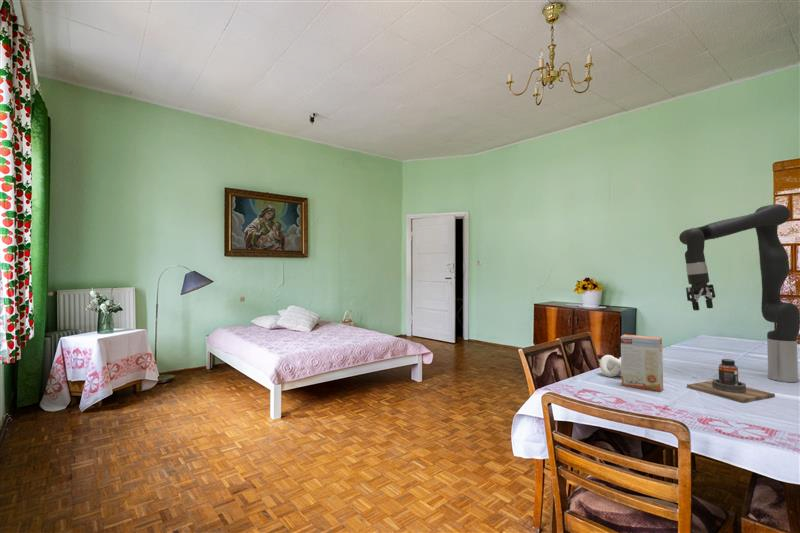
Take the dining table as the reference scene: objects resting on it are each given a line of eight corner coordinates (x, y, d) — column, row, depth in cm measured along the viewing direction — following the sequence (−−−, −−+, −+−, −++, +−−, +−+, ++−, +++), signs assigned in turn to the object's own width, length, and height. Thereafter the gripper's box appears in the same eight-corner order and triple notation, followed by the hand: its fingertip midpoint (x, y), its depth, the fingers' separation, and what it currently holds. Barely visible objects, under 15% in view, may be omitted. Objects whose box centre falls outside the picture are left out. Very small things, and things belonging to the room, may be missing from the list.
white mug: (638, 379, 175) (637, 358, 175) (613, 380, 173) (612, 360, 174) (620, 372, 186) (619, 353, 187) (596, 374, 185) (596, 354, 185)
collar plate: (717, 382, 168) (717, 373, 168) (774, 396, 149) (774, 387, 149) (686, 387, 162) (686, 378, 162) (742, 402, 143) (742, 392, 143)
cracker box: (663, 388, 161) (662, 337, 161) (660, 392, 157) (659, 339, 157) (625, 382, 171) (624, 333, 171) (621, 385, 166) (620, 335, 166)
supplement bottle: (742, 391, 152) (741, 361, 152) (724, 390, 154) (724, 361, 154) (732, 386, 158) (732, 358, 158) (715, 386, 159) (715, 357, 160)
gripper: (694, 273, 172) (700, 311, 171) (717, 270, 176) (723, 307, 175) (677, 275, 179) (683, 311, 178) (699, 272, 184) (705, 307, 182)
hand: (703, 309), depth 177 cm, fingers open, 8 cm apart
